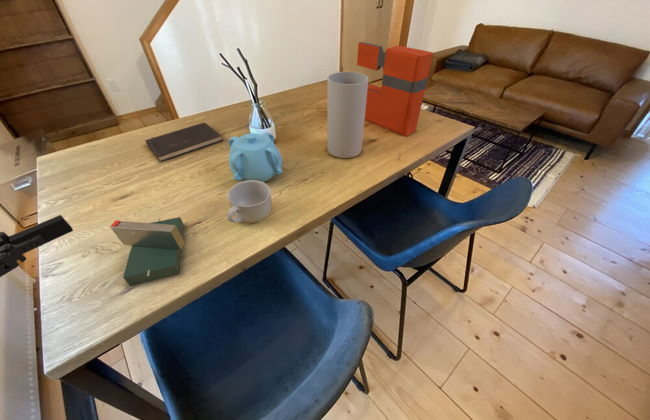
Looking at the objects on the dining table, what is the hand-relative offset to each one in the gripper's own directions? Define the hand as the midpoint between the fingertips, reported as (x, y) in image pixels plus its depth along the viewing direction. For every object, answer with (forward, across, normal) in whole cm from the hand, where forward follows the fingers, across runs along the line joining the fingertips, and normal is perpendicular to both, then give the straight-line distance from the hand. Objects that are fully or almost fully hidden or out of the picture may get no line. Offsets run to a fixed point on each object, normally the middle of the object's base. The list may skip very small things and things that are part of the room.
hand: (66, 222), depth 45 cm
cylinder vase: (+76, -3, -20) cm, 78 cm away
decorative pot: (+45, -15, -20) cm, 52 cm away
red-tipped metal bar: (+9, -5, -17) cm, 20 cm away
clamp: (+105, -9, -20) cm, 108 cm away
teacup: (+31, +1, -20) cm, 37 cm away
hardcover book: (+39, -52, -19) cm, 67 cm away
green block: (+9, -5, -20) cm, 22 cm away
